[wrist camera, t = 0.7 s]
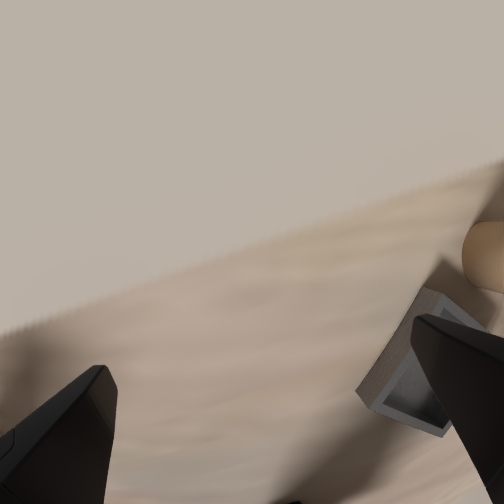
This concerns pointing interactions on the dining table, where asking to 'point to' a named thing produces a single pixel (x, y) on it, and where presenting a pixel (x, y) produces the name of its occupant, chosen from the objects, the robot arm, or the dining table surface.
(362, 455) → the dining table surface
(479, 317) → the dining table surface
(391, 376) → the tray
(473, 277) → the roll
